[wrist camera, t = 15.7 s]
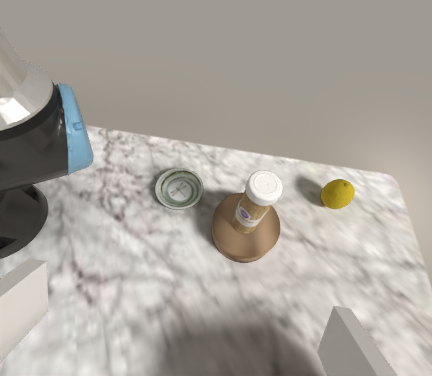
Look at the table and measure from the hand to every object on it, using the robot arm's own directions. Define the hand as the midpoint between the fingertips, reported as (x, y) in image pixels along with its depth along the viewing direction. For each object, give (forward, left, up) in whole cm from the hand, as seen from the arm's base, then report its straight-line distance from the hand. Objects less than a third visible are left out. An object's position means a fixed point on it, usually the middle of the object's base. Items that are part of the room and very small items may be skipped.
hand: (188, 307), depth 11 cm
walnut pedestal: (+7, +16, -31) cm, 35 cm away
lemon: (+25, +26, -31) cm, 47 cm away
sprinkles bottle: (+6, +16, -26) cm, 31 cm away
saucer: (-7, +22, -31) cm, 39 cm away
